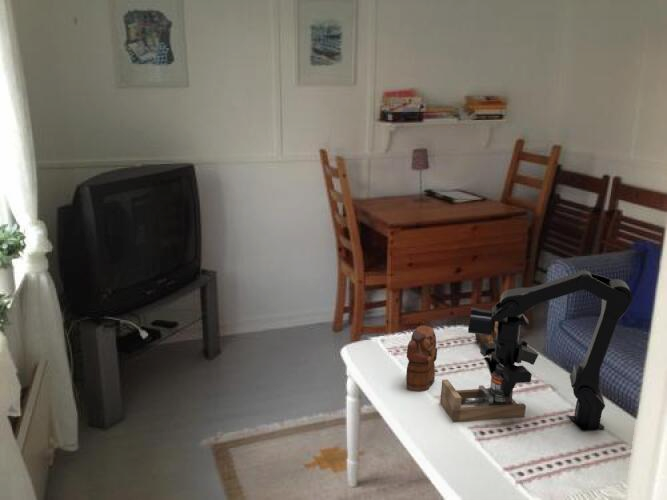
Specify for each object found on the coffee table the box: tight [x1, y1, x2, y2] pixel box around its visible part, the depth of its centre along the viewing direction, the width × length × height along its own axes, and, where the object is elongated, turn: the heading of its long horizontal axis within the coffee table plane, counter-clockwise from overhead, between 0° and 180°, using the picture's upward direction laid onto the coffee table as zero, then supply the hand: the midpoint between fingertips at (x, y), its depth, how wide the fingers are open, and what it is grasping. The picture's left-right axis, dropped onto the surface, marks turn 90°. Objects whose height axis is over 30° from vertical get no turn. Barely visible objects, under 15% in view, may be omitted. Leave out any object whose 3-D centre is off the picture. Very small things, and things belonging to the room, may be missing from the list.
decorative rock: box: [475, 322, 498, 347], centre depth 200 cm, size 12×6×11 cm, turn 14°
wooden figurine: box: [405, 325, 438, 392], centre depth 172 cm, size 12×6×18 cm, turn 149°
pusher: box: [465, 385, 493, 406], centre depth 161 cm, size 7×6×5 cm
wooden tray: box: [439, 379, 527, 423], centre depth 161 cm, size 10×20×7 cm, turn 100°
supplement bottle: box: [489, 364, 514, 405], centre depth 161 cm, size 6×6×11 cm
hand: (501, 390), depth 161 cm, fingers closed on supplement bottle, 6 cm apart
